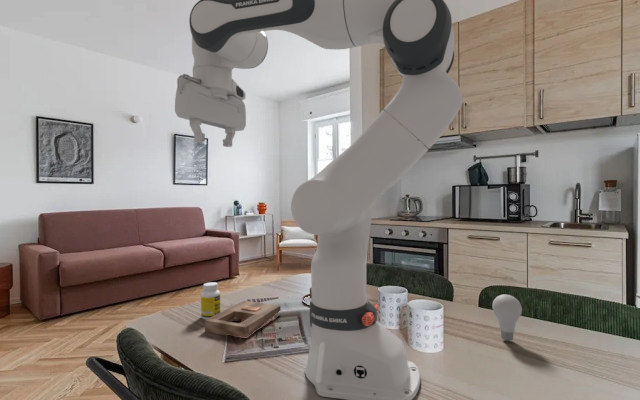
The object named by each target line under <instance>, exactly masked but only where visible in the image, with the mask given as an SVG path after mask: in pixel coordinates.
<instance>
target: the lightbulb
mask: <svg viewBox="0 0 640 400" xmlns="http://www.w3.org/2000/svg"><path fill="white" fill-rule="evenodd" d="M491 306H492V311H493V314H494V315H495V317H496V318H497V322H498V324H499V330H500V337H501V338H502V340H504V341H505V342H510V341H511V342H512V341H513V340H514V332H515V331H516V324H517V322H518V320H519V319H520V317H521V316H522V313H523V308H522V304H521V302H520V300H518V299H517V298H516V297H514V296H513V295H510V294H500V295H497V296H496V297H495V298H494V299H493V301H492V305H491Z"/></svg>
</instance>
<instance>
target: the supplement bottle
mask: <svg viewBox="0 0 640 400" xmlns="http://www.w3.org/2000/svg"><path fill="white" fill-rule="evenodd" d="M218 288H219V286H218V283H217V282H216V281H214V282H213V281H212V282H205V283H203V291H202V292H201V294H200V305H201V308H200V313H201V315H200V316H201V318H202V320H204V321H205V320H206V319H208V318H210V317H212V316H214V315H216V314H218V313H220V312H221V292H220V290H219V289H218Z"/></svg>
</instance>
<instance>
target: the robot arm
mask: <svg viewBox="0 0 640 400" xmlns="http://www.w3.org/2000/svg"><path fill="white" fill-rule="evenodd" d="M452 21H453V20H452V14H451V11H450V8H449V6H448V5H447V3H446V2H445V0H198V1H197V2H196V3H195V4H194V6H193V7H192V9H191V10H190V14H189V22H188V23H189V30H190V34H191V53H192V56H193V57H192V58H193V61H194V62H193V66H192V76H190V75H189V74H186V73H183V74H180V75H179V76H178V77H177V79H176V84H177V86H176V87H177V88H176V91H175V98H174V113H175V114H176V116H177V117H178V118H180V119H184V120H188V121H189V127H190V128H191V131H192V133H193V137H194V138H193V139H194V142H197V143H204V142H205V141H206V138H205V137H206V134H205V133H203V130H202V129H201V125H202V124H204V125H206V126H212V127H216V128H220V129H224V133H225V138H223V139H222V145H223V147H226V148H232V147H233V139H234V138H235V135H236V132H240V131H241V132H242V131H244V130H245V128H246V124H247V111H246V110H247V109H246V105H245V102H244V101H245V100H246V96H247V95H246V91H245V90H244V89H243V88H242V87H240V86H239V84H238V83H237V82H236V81H235V79H234V78H233V69H241V70H242V69H254V68H257V67H258V66H260V65H261V64H262V63H263V62H264V61H265V59H266V57H267V54H268V49H269V41H268V37H267V34H266V33H265V32H267V31H276V30H277V31H283V32H288V33H291V34H294V35H296V36H298V37H301V38H303V39H305V40H306V41H308V42H311V43H313V44H314V45H316V46H318V47H319V48H323V49H325V50H347V49H352V48H357V47H361V46H366V45H371V44H383V45H384V47H385V49H386V51H387V53H388V55H389V57H390V61H391V63H392V65H393V67H394V69H395V70H396V71H397V73H398V74H399V75H400V76H401V78H402V79H401V83H400V86H399V89H398V91H397V92H396V94H395V95H394V96H393V98H392V99H391V100H390V101H389V103H387V105H386V106H384V108H383V109H382V110H381V112H380V113H379V114H378V115H377V116H376V117H375V118H374V120H372V122H371V123H370V124H369V125H368V126H367V128H365V130H364V131H363V132H362V133H361V134H360V136H359V137H358V138H357V139H356V140H355V141H353V143H352V144H351V145H350V146H349V147H347V148H346V149H345V150H344V151H342V153H340V154H339V155H338V156H337V157H336V158H334V159H333V160H332V161H331V162H329V164H327V165H326V166H325V167H324V168H323V169H322V170H321V171H319V172H318V173H317V174H316V175H314V176H313V177H312V178H309V180H308V179H307V180H306V181H305V182H303V183H302V184H300V185H299V186H298V187H297V188H296V190H295V191H294V193H293V194H292V198H291V202H290V203H291V204H290V205H291V206H290V211H291V215H292V218H293V220H294V222H295V224H296V225H297V226H298V227H299V228H300V229H301V230H302V231H304V232H306V233H308V234H310V235H315V236H318V242H317V246H316V249H315V252H314V254H313V257H312V259H311V263H310V275H311V277H310V278H311V280H310V281H311V282H310V283H311V287H310V288H311V289H312V299H311V300H310V301H309V302H310V306H309V326H310V328H311V332H310V344H309V352H308V355H307V361H306V365H305V367H304V373H305V376H306V379H307V380H308V381H309V382H311V384H312V385H313V386H314V387H315V391H316V393H317V395H318V396H320V397H324V398H330V399H340V400H413V399H414V398H415V397H416V395H417V394H418V392H419V389H420V385H421V373H420V370H419V368H418V366H417V365H416V364H415V362H412V361H410V360H408V357H407V356H408V355H407V350H406V348H405V345H404V343H403V341H402V339H400V338H399V337H398V336H397V335H396V334H394V333H392V331H390V330H389V329H388V328H387V327H385V326H384V325H383V324H382V323H380V322H379V321H378V310H379V309H378V307H379V305H378V304H377V303H376V304H375V305H373V304H372V303H371V302H370V301H369V299H368V298H367V296H368V295H367V290H368V289H367V261H368V260H367V259H368V258H367V257H368V252H369V250H368V249H369V244H370V235H371V234H370V233H371V227H372V225H371V224H372V215H373V211H374V207H375V201H376V200H378V199H379V198H380V197H381V196H382V195H384V193H386V192H387V191H388V190H390V188H391V187H393V186H394V185H396V184H397V183H398V182H399V181H400V180H401V179H402V178H403V177H404V176H405V175H406V174H407V173H408V172H409V171H410V170H411V169H412V167H414V166H415V164H417V162H419V160H420V159H422V158H423V156H424V155H425V154H426V153H427V152H428V151H429V149H431V148H432V147H433V146H434V145H435V143H436V142H437V141H438V140H439V139H440V138H441V136H443V134H444V133H445V131H446V130H447V129H448V128H449V126H450V125H451V123H452V122H453V121H454V119H455V117H456V116H457V114H458V113H459V112H460V110H461V107H462V105H463V97H464V96H463V93H462V90H461V87H460V86H459V85H458V83H457V82H456V81H455V79H453V78H452V77H451V75H449V73H450V70H451V68H452V66H453V63H454V60H455V59H454V58H455V50H454V49H455V42H456V41H455V38H456V37H455V36H456V35H455V31H454V26H453V25H454V24H453V22H452Z"/></svg>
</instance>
